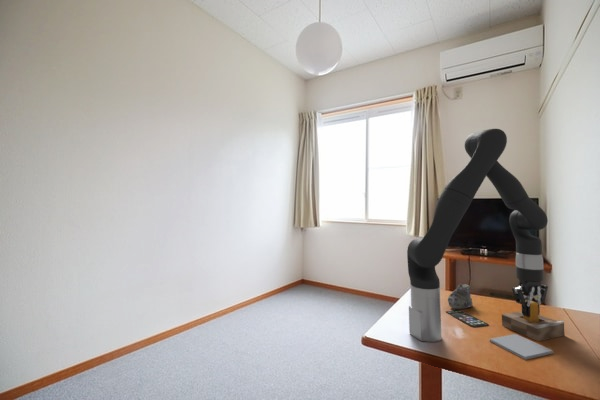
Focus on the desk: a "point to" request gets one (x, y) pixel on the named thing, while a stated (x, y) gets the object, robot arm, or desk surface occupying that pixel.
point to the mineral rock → (460, 297)
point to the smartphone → (467, 318)
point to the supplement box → (533, 312)
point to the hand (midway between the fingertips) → (530, 315)
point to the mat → (521, 346)
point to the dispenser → (533, 326)
